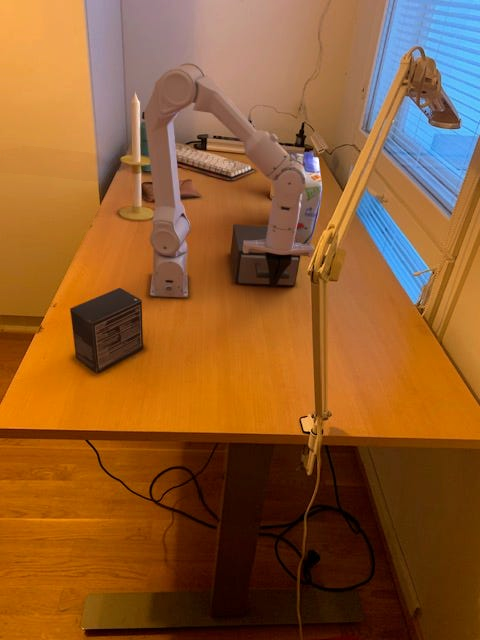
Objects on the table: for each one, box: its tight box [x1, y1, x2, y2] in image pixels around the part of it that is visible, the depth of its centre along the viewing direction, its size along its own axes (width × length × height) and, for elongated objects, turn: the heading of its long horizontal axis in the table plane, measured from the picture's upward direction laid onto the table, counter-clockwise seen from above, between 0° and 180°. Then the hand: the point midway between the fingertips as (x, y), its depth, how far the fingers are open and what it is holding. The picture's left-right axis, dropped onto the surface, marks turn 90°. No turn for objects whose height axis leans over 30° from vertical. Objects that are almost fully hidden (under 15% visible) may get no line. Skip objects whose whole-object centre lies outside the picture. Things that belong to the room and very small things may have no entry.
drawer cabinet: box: [229, 223, 301, 287], centre depth 118 cm, size 15×14×8 cm
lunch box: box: [292, 151, 323, 245], centre depth 134 cm, size 28×10×22 cm, turn 176°
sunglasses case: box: [141, 178, 201, 202], centre depth 155 cm, size 18×7×7 cm
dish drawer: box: [238, 254, 299, 286], centre depth 114 cm, size 19×13×7 cm
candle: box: [118, 90, 155, 221], centre depth 132 cm, size 10×10×32 cm
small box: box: [69, 287, 145, 374], centre depth 85 cm, size 11×6×10 cm, turn 141°
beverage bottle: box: [140, 111, 151, 172], centre depth 167 cm, size 6×7×20 cm
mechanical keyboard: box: [175, 142, 257, 181], centre depth 186 cm, size 38×19×3 cm, turn 61°
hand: (272, 284), depth 105 cm, fingers closed, pressing on dish drawer
